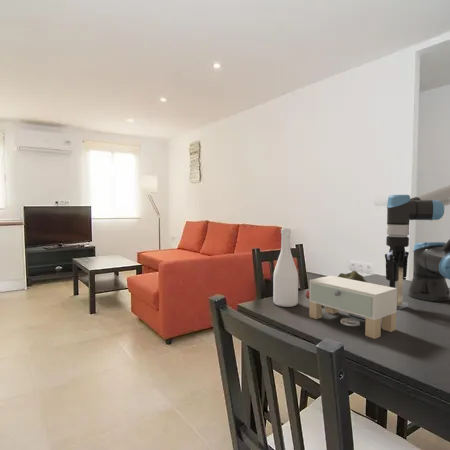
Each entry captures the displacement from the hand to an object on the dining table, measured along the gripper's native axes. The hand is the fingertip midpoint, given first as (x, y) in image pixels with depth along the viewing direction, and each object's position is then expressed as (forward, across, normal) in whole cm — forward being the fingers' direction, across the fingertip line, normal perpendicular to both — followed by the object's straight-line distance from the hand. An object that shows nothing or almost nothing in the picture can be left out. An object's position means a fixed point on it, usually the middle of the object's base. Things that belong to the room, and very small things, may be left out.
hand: (395, 297), depth 127 cm
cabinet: (+4, +30, 0) cm, 30 cm away
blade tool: (+4, +10, 0) cm, 11 cm away
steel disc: (+4, +30, 0) cm, 30 cm away
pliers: (+5, +18, -23) cm, 29 cm away
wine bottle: (+4, +31, -28) cm, 42 cm away
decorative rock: (+4, -4, -20) cm, 21 cm away
